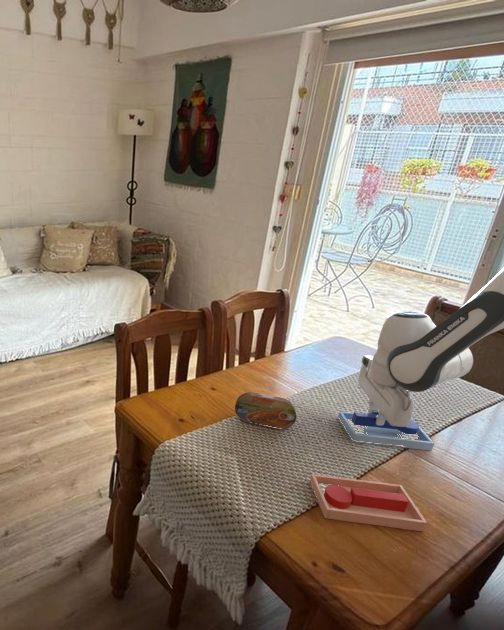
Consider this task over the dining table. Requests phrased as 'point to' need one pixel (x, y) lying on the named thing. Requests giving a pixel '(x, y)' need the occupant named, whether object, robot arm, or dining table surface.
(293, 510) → the dining table surface
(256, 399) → the tin
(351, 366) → the dining table surface
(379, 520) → the pink tray
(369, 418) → the blue spoon
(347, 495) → the red spoon
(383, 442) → the blue tray
